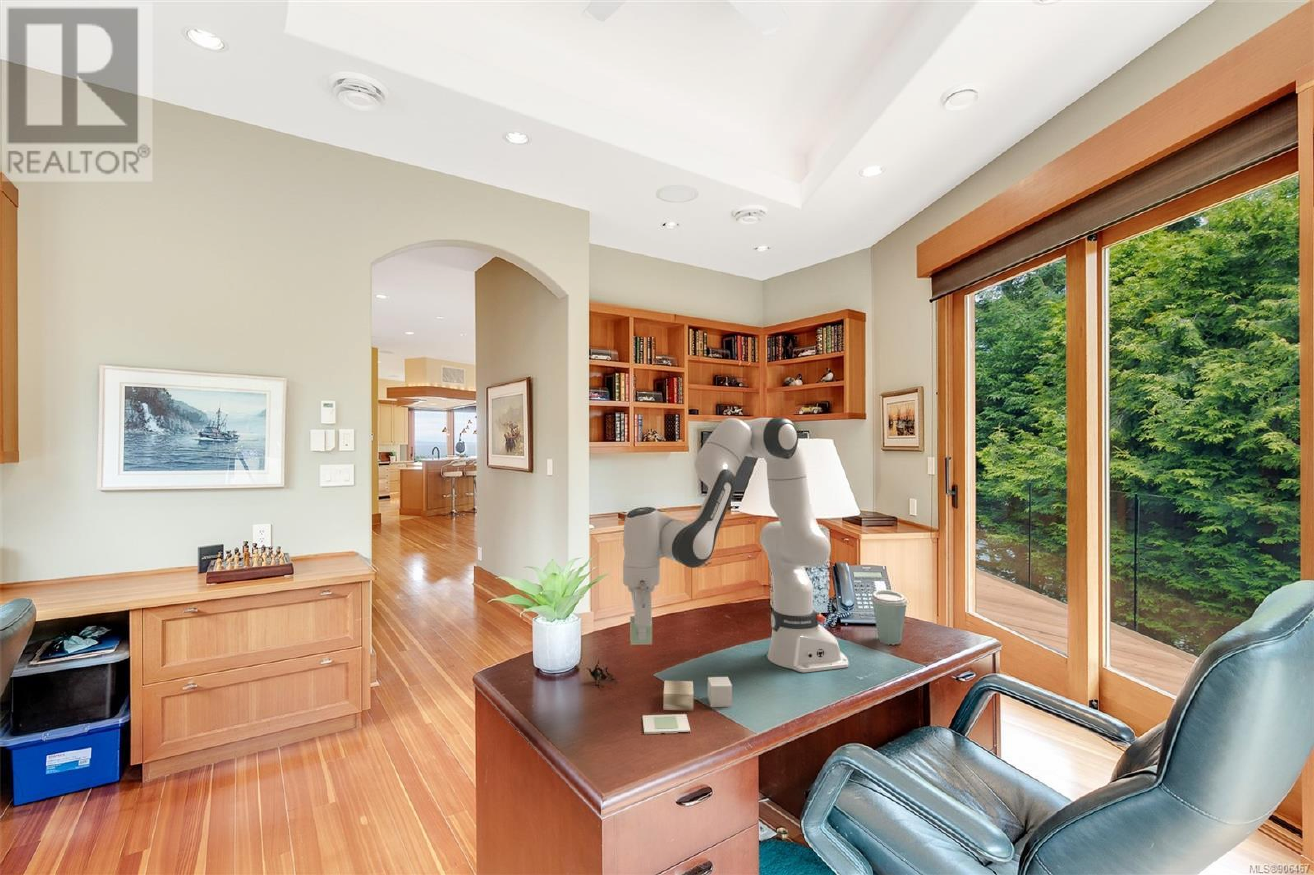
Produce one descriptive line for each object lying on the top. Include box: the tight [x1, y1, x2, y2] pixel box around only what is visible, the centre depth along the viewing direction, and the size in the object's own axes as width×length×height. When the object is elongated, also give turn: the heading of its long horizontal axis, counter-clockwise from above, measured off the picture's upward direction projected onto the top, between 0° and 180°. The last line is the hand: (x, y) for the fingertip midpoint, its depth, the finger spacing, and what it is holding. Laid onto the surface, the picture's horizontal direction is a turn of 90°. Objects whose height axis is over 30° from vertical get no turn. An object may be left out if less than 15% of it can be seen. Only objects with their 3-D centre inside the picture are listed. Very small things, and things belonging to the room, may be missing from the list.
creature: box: [585, 660, 618, 691], centre depth 143 cm, size 8×5×8 cm
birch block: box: [662, 680, 694, 711], centre depth 133 cm, size 7×7×4 cm
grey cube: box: [707, 676, 733, 708], centre depth 134 cm, size 5×5×5 cm
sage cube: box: [629, 615, 653, 646], centre depth 132 cm, size 5×5×5 cm
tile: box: [642, 713, 691, 735], centre depth 122 cm, size 10×7×1 cm
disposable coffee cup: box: [870, 589, 908, 646], centre depth 174 cm, size 11×11×15 cm
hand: (641, 633), depth 132 cm, fingers closed on sage cube, 5 cm apart
